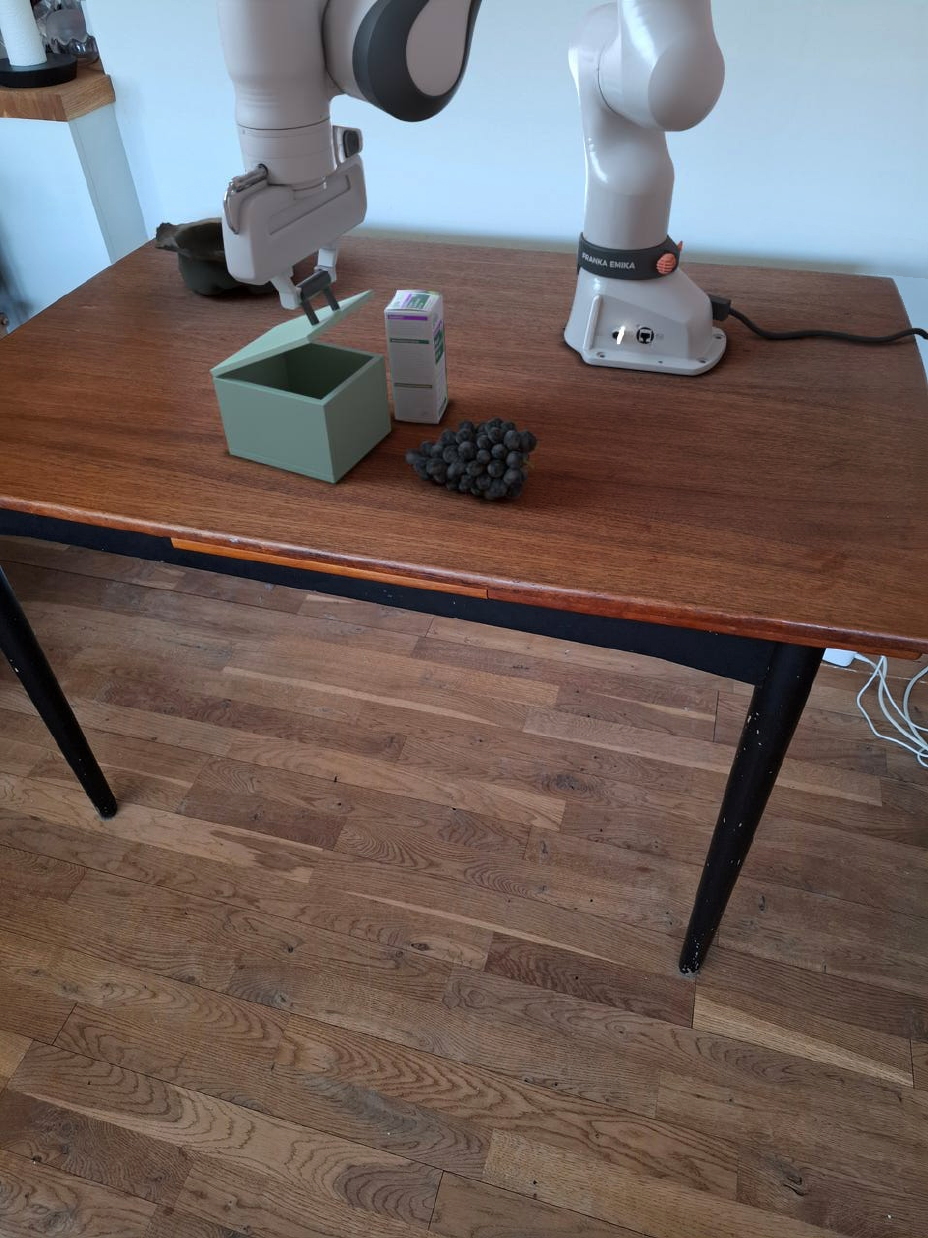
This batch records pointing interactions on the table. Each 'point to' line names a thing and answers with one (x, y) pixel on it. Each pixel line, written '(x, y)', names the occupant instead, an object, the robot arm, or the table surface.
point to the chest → (306, 409)
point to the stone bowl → (203, 256)
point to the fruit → (477, 458)
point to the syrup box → (417, 355)
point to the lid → (298, 324)
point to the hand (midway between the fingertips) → (310, 294)
